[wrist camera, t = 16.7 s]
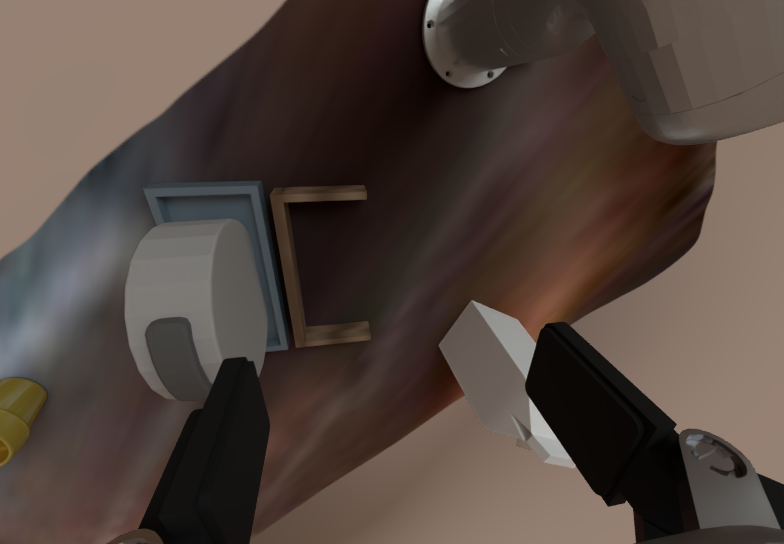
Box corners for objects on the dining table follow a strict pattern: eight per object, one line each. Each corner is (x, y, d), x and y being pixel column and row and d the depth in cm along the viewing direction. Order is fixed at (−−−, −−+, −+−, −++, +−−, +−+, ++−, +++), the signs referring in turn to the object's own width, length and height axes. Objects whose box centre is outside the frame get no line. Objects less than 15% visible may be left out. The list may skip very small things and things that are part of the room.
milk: (517, 319, 63) (623, 441, 40) (484, 361, 67) (563, 493, 44) (471, 300, 58) (561, 424, 36) (438, 345, 62) (500, 483, 40)
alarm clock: (182, 206, 41) (77, 279, 24) (242, 202, 42) (183, 270, 25) (225, 334, 51) (172, 450, 34) (272, 328, 52) (245, 438, 35)
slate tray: (261, 180, 42) (257, 185, 40) (290, 337, 55) (288, 349, 52) (155, 183, 40) (143, 188, 38) (210, 346, 53) (203, 358, 50)
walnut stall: (363, 185, 45) (366, 191, 42) (368, 325, 57) (370, 339, 53) (274, 187, 43) (269, 195, 40) (298, 332, 55) (296, 347, 51)
